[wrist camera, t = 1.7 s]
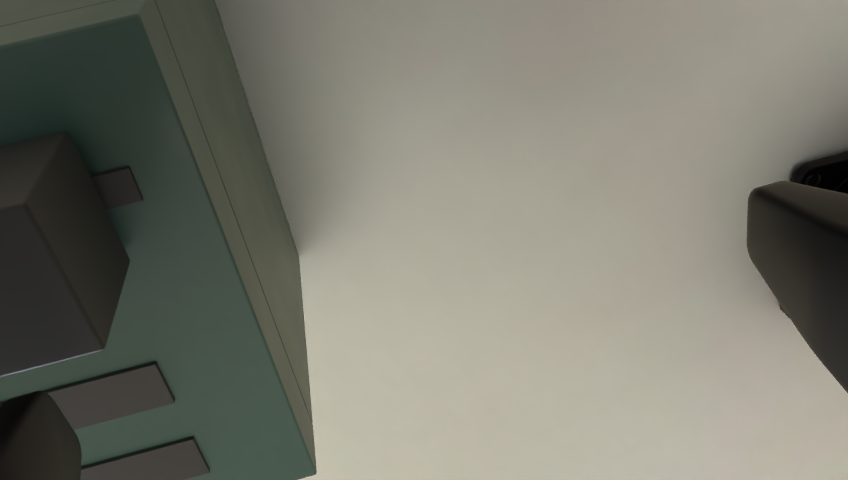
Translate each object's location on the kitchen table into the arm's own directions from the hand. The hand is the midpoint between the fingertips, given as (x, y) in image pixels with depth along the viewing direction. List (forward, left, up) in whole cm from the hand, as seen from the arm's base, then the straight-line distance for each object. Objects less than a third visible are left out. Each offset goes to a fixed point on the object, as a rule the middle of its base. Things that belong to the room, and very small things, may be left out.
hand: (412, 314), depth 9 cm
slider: (+5, -1, -4) cm, 6 cm away
